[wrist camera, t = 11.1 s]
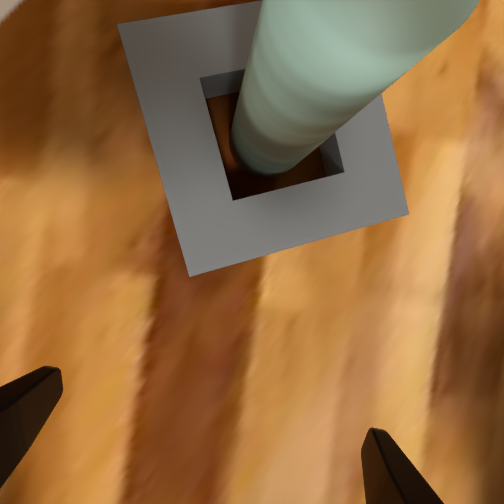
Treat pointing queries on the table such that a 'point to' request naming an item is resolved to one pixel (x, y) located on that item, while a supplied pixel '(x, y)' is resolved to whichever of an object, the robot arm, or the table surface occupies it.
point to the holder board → (209, 159)
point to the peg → (326, 70)
